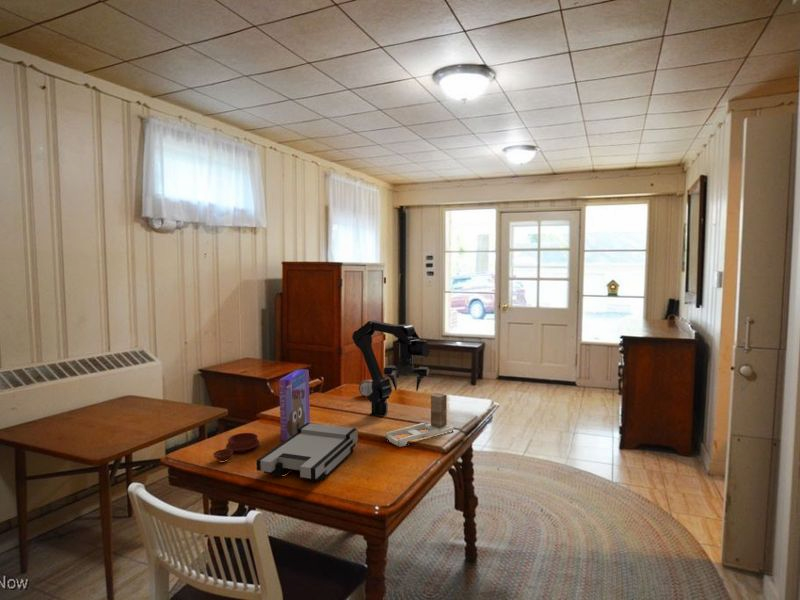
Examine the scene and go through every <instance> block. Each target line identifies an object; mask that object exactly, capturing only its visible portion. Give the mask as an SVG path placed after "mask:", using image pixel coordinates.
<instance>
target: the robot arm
mask: <svg viewBox="0 0 800 600" xmlns="http://www.w3.org/2000/svg"><path fill="white" fill-rule="evenodd" d="M375 332H381V333H385V334H389V335H391V336H393V337H395V338H397V339H396V340H395V342H394V344H399V346H398V348H399V349H398V350H399V353H398V354H399V357H398V363H397V366H396V365H388V364H387V365H386V366H385V367H384V368H383V373H382V371H381V368H380V365H379V364H378V360H377V357H376V355H375V353H374V349H373V347H372V344H373V337H372V336H373V335H374V334H376V333H375ZM351 338H352V340H353V343H354V345H355V346H356V347H357V348H358V349H359V350H360V351H361V353H362V356H363V359H364V362H365V365H366V367H367V369H368V371H369V374H370V378H371V380H372V393H371V394H370V395H369V396H368V397H367V398H368V401H369V402H370V403H371V412H370V415H371V416H379V417H384V416H386V415H387V413H388V412H389V410H388V409H389V407H388V406H389V403H388V402H387V400H389V398H390V396H391V394H392V391H393V388H394V390H395V391H397V390H398V378H397V376H403V377H406V376H409V374H417V376H416V390H415V391H416V392H418V391H419V388H420V385H421V382H422V380H423V379H424V378H425V377H428V376H429V374H430V368H429V367H428V366H419V367H418V368H415V365H414V363H413V362H414V357H421V358H427V357H428V356H429V355H430V353H431V347H430V345H429V344H428V340H424V339H423V340H421V339H420V336H419V335H418V333H417V332H416V329H415V327H414V326H413V324H409V323H408V324H393V323H390V322H389V323H388V322H384V321H378V320H375V319H374V320H368V321H367V322H366V323H365V324H364V325H362V326H361V327H359V328H358V329H357V330H354V331H353V332H352V336H351ZM383 375H386V377H388V378H385V377H384V376H383ZM389 378H390V379H389ZM391 383H392V384H393V386H392V384H391ZM392 387H393V388H392Z"/></svg>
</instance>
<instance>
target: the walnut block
mask: <svg viewBox="0 0 800 600" xmlns="http://www.w3.org/2000/svg"><path fill="white" fill-rule="evenodd" d="M447 395H448V394H445V393H440V392H436V393H433V394H430V423H431V426H434V427H438V428H441V427H444V426H446V425H447V423H448V422H447V419H448V418H447V416H448V415H447V413H448V412H447V410H448V406H447V405H448V404H447Z"/></svg>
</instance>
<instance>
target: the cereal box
mask: <svg viewBox="0 0 800 600" xmlns="http://www.w3.org/2000/svg"><path fill="white" fill-rule="evenodd" d="M309 373H310V371H309V369H305V368H301V369H300V368H299V369H296V370H294V371H292V372H290V373H289V374H287V375H286V376H283V377H282V378H280V379H279V380H278V386H279V388H278V389H279V417H280V418H279V419H280V420H279V422H280V423H279V424H280V441H282V442H284V441H285V440H287V439H288V438H290V437H291V436H293V435H294V434H296V433H297V432H298V428H300V427H301V426H303V425H304V424H306V423H311V416H310V415H311V413H310V410H311V408H310V407H311V406H310V374H309Z"/></svg>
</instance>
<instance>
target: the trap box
mask: <svg viewBox="0 0 800 600" xmlns="http://www.w3.org/2000/svg"><path fill="white" fill-rule="evenodd" d="M425 429H426V430H428V431H425V432H419V431H420V430H425ZM453 430H455V428H454V426H453V425H450V424H447V425H446V426H444V427H441V428H438V427H434V426H431V422H430V423H426V422H421V423H418V424H417V423H416V424H414V425H410V426H406V427H401V428H399V429H394V430H390V431H387V432H386V433H385V439H386V438H387V439H388V440H389V441H388V440H387V441H388V442H389V443H392V444H394V445H396V446H397V447H399V448H400V447H405V446H407V445H406V444H407V442H408V441H410V440H415V439H420V438H424V437H429V436H434V435H437V434H441V433H445V432H449V431H453ZM406 433H407V434H409V435H410V436H407V437H403V438H400V439H397V438H395V437H393V436H396V435H401V434H406Z"/></svg>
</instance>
